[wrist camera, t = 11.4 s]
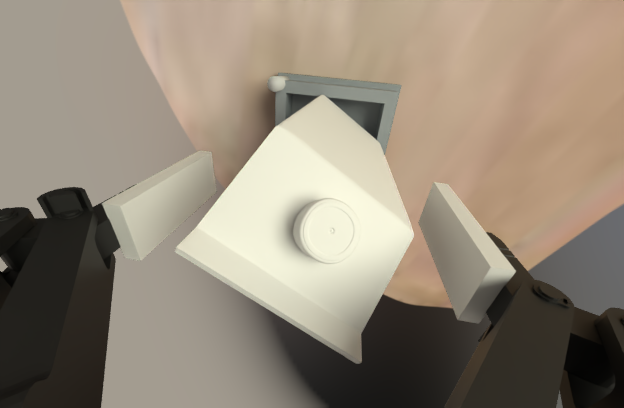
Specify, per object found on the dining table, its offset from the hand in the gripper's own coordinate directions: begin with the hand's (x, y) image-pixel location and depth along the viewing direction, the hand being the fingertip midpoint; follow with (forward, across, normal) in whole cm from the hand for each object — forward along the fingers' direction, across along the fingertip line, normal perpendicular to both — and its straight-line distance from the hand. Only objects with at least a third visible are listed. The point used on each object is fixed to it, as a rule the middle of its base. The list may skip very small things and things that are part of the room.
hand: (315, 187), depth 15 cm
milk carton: (+11, 0, -1) cm, 11 cm away
